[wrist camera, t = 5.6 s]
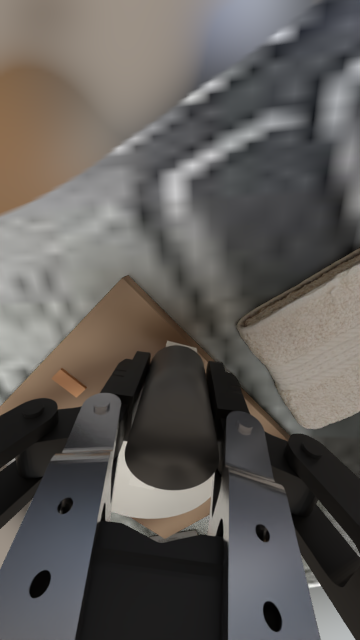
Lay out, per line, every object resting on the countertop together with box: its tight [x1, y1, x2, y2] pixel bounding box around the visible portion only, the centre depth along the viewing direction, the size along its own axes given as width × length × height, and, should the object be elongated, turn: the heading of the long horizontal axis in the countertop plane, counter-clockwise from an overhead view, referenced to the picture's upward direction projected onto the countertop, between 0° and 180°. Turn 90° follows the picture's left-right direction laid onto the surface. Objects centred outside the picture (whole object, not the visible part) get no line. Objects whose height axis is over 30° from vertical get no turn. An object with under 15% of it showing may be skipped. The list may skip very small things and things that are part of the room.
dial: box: [111, 341, 220, 519], centre depth 13 cm, size 18×12×8 cm
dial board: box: [0, 276, 290, 539], centre depth 18 cm, size 22×18×2 cm
